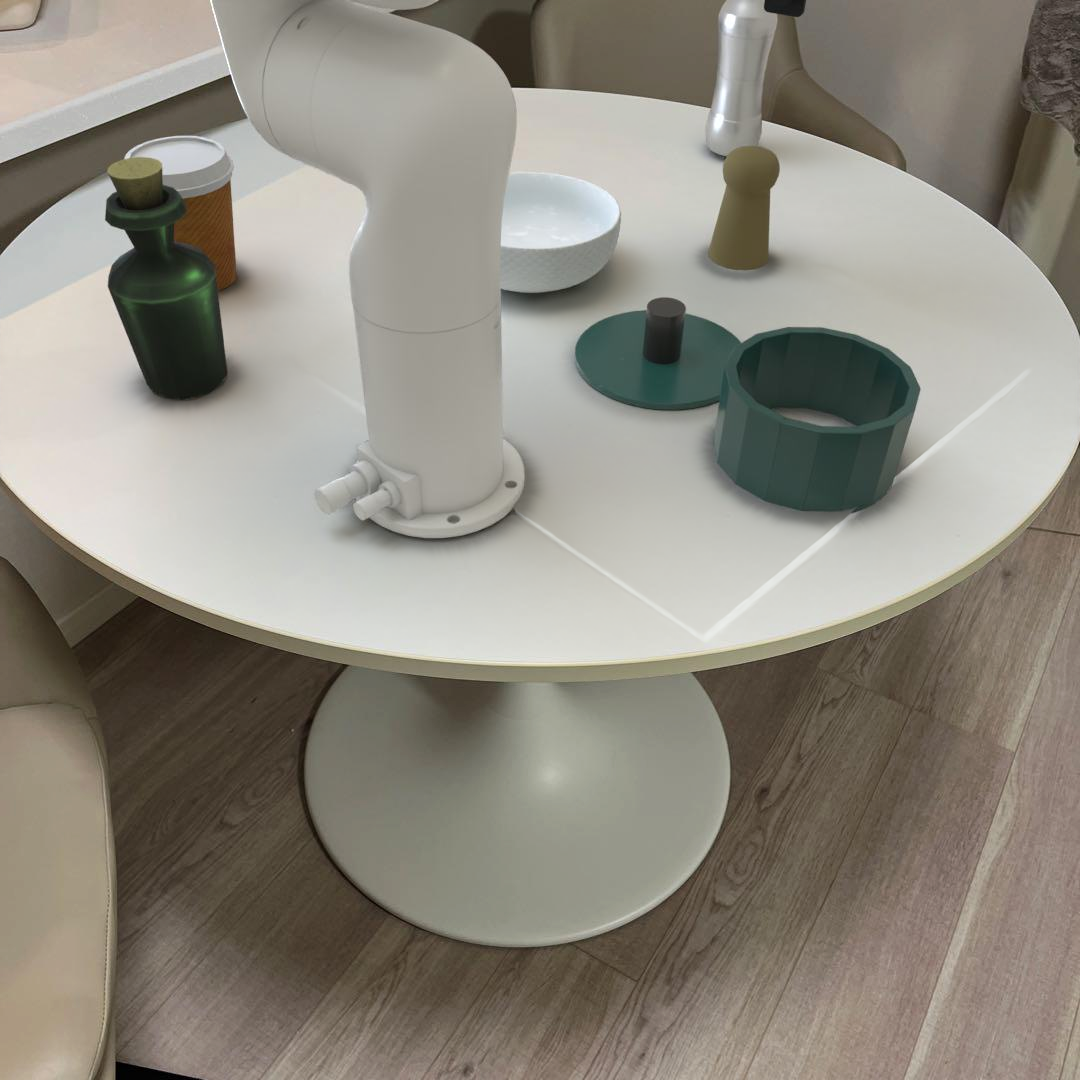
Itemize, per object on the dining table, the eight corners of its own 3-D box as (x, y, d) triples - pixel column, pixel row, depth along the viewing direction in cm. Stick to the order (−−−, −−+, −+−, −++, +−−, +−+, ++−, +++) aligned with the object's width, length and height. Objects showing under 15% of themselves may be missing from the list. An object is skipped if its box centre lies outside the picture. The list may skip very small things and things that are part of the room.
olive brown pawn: (766, 278, 102) (786, 167, 94) (704, 272, 103) (718, 161, 95) (769, 250, 106) (788, 141, 99) (709, 243, 107) (723, 135, 100)
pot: (827, 543, 74) (850, 458, 69) (677, 457, 81) (688, 374, 76) (927, 460, 81) (955, 377, 76) (781, 387, 88) (797, 308, 83)
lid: (671, 439, 82) (678, 377, 79) (538, 364, 90) (539, 305, 86) (781, 367, 90) (793, 308, 86) (651, 304, 98) (656, 247, 94)
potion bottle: (249, 392, 86) (205, 179, 74) (148, 417, 84) (85, 200, 72) (224, 344, 92) (179, 138, 80) (128, 366, 89) (67, 156, 77)
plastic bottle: (719, 167, 121) (744, -25, 108) (692, 145, 126) (713, -41, 112) (768, 159, 123) (799, -30, 109) (740, 138, 127) (766, -46, 114)
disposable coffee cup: (268, 287, 99) (246, 162, 91) (168, 313, 95) (136, 185, 87) (234, 247, 105) (210, 126, 97) (138, 270, 101) (105, 146, 93)
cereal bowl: (653, 284, 101) (659, 213, 96) (515, 340, 93) (515, 267, 88) (541, 220, 110) (542, 154, 106) (408, 267, 103) (403, 197, 98)
